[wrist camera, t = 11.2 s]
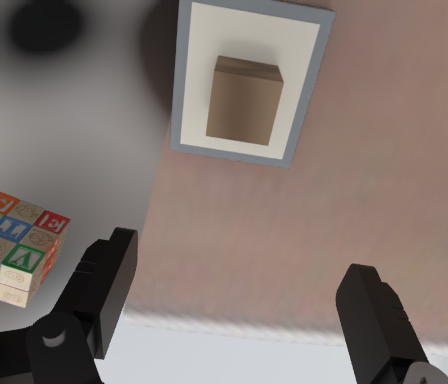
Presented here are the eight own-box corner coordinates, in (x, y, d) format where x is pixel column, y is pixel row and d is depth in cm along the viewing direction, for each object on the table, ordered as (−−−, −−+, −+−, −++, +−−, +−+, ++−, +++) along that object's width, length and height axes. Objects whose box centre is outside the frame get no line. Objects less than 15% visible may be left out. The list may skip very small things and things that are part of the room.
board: (330, 9, 27) (337, 12, 25) (287, 159, 35) (289, 169, 33) (184, -17, 27) (180, -16, 25) (173, 141, 34) (169, 151, 33)
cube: (277, 65, 28) (283, 82, 24) (264, 121, 31) (268, 146, 26) (218, 55, 28) (213, 70, 23) (210, 112, 30) (205, 135, 26)
